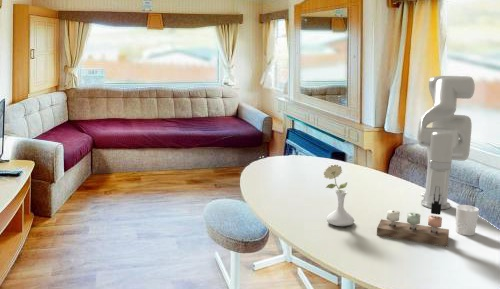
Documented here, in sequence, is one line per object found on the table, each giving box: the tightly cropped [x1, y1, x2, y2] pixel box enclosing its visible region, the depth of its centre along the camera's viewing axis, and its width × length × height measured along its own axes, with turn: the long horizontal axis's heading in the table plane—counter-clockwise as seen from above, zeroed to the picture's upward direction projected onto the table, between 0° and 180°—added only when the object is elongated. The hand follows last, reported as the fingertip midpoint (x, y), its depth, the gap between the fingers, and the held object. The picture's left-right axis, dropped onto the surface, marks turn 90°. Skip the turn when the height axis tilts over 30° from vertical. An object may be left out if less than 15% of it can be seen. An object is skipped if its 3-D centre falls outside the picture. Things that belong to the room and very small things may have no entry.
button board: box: [376, 218, 450, 247], centre depth 167 cm, size 25×10×3 cm, turn 65°
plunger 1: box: [386, 209, 401, 227], centre depth 169 cm, size 5×5×7 cm
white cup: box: [455, 204, 480, 237], centre depth 170 cm, size 8×8×10 cm
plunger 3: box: [427, 214, 443, 233], centre depth 163 cm, size 5×5×7 cm
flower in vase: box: [323, 164, 355, 227], centre depth 177 cm, size 13×11×25 cm
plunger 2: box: [406, 212, 421, 230], centre depth 166 cm, size 5×5×7 cm
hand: (435, 213), depth 162 cm, fingers closed
